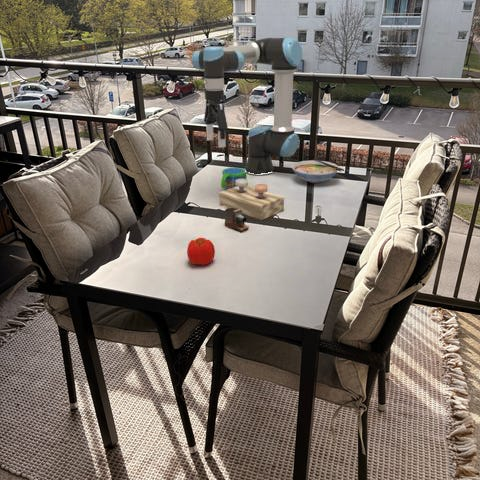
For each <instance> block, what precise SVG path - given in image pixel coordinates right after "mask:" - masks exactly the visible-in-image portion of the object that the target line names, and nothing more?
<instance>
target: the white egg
mask: <svg viewBox="0 0 480 480" xmlns="http://www.w3.org/2000/svg"><path fill="white" fill-rule="evenodd" d="M248 182H249V181H248V179H236V180H235V185H236V186H238V187H239V193H244V187H245V186H248V187H249V185H248V184H249V183H248Z"/></svg>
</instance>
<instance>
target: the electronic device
mask: <svg viewBox="0 0 480 480" xmlns="http://www.w3.org/2000/svg"><path fill="white" fill-rule="evenodd" d="M224 211H225V214H224V215H225V216H224V227H228V228H230V229H234V230H236V231H238V232H239V233H242V232H245V231H247V230H248V229H249V228H250V226H249V225H246V224H245V223H246V222H247V220H248V219H247V217H245V216H243V215H244V214H242V210H241V209H236V208H226V209H225V210H224Z"/></svg>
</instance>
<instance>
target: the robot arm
mask: <svg viewBox="0 0 480 480" xmlns="http://www.w3.org/2000/svg"><path fill="white" fill-rule="evenodd" d="M302 61H303V48H302V44H301V43H300V41H299V40H298V39H296V38H292V37H266V38H261V39H257V40H252V41H247V43H245V44H242V45H241V44H239V45H233V46H228V47H222V46H206V47H204V48H203V49H200V50H195V51H194V52H193V53H192V55H191V64H192V66H193V67H194V69H195V70H199V71H203V72H204V75H203V77H204V80H203V84H204V89H205V90H204V99H205V111H204V118H203V121H204V122H205V125H206V126H205V127H206V128H205V129H206V131H205V132H206V141H214V121H213V120H214V118H215V121H216V123H217V124H216V125H217V127H218V128H217V133H218V134H217V138H218V141H217V142H218V148H226V131H227V130H228V123H227V116H226V112H225V104H224V103H221V101H223V100H225V91H224V88H225V79H224V78H225V75H224V73H231V72H237V71H240V70H242V68H243V67H244V64H246V63H247V64H251V65H253V64H254V65H255V64H259V65H260V64H261V65H269V66H271V71H272V73H274V93H273V94H274V99H273V100H274V101H273V102H274V104H273V107H274V108H273V126H269V125H266V126H265V125H263V126H255V127H251V128H250V129H249V130H248V137H247V138H248V139H247V140H248V141H247V142H248V146H247V147H248V152H247V153H248V155H247V156H248V157H247V161H246V164H245V167H244V170H246V171H247V172H250V173H254V174H261V173H268V172H271V171H273V170H274V171H275V169H274V168H275V166H274V165H273V161H272V160H273V159H272V156H271V155H273V156H278V157H282V158H283V157H285V158H290V157H292V156H294V155H295V153H296V151H297V149H298V147H299V145H300V144H299V143H300V137H299V135H298V134H297V133H295V127H294V126H293V123H292V121H293V120H292V119H293V97H294V96H293V94H294V73H295V72H296V71H297V69H298V68H297V67H298V66H300V65H301V63H302Z"/></svg>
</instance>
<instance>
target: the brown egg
mask: <svg viewBox="0 0 480 480" xmlns="http://www.w3.org/2000/svg"><path fill="white" fill-rule="evenodd" d="M254 188H255V192H257V193H259V199H263V193H265V192H268V184H265V183H264V184H263V183H259V184H255V185H254Z"/></svg>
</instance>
